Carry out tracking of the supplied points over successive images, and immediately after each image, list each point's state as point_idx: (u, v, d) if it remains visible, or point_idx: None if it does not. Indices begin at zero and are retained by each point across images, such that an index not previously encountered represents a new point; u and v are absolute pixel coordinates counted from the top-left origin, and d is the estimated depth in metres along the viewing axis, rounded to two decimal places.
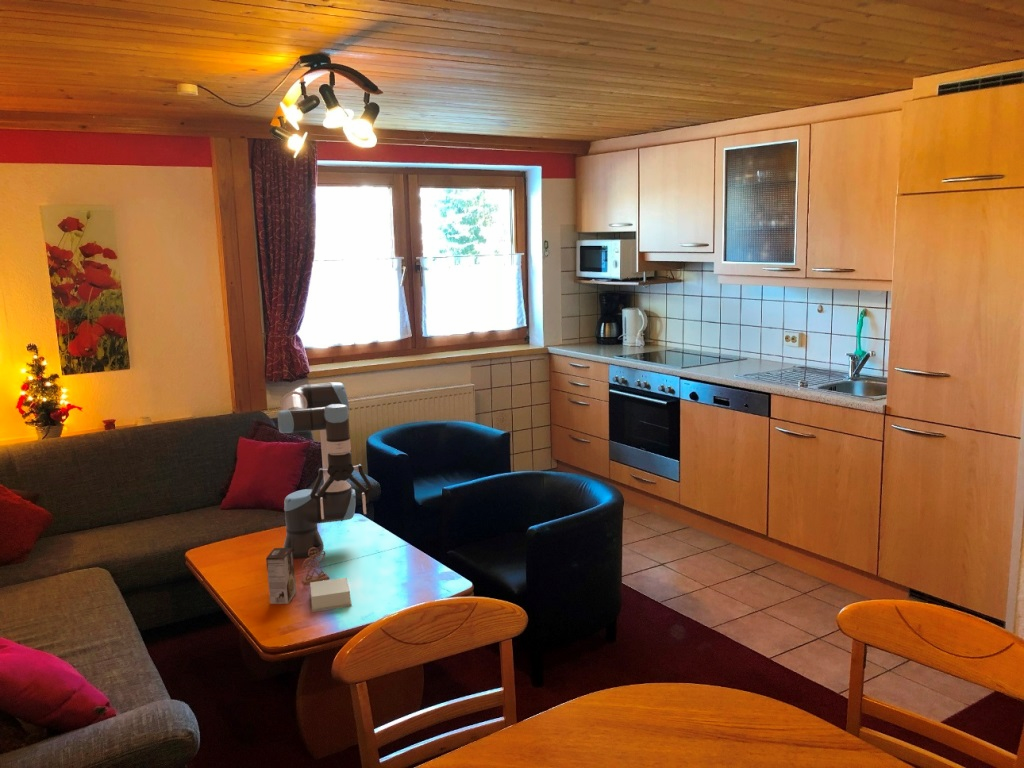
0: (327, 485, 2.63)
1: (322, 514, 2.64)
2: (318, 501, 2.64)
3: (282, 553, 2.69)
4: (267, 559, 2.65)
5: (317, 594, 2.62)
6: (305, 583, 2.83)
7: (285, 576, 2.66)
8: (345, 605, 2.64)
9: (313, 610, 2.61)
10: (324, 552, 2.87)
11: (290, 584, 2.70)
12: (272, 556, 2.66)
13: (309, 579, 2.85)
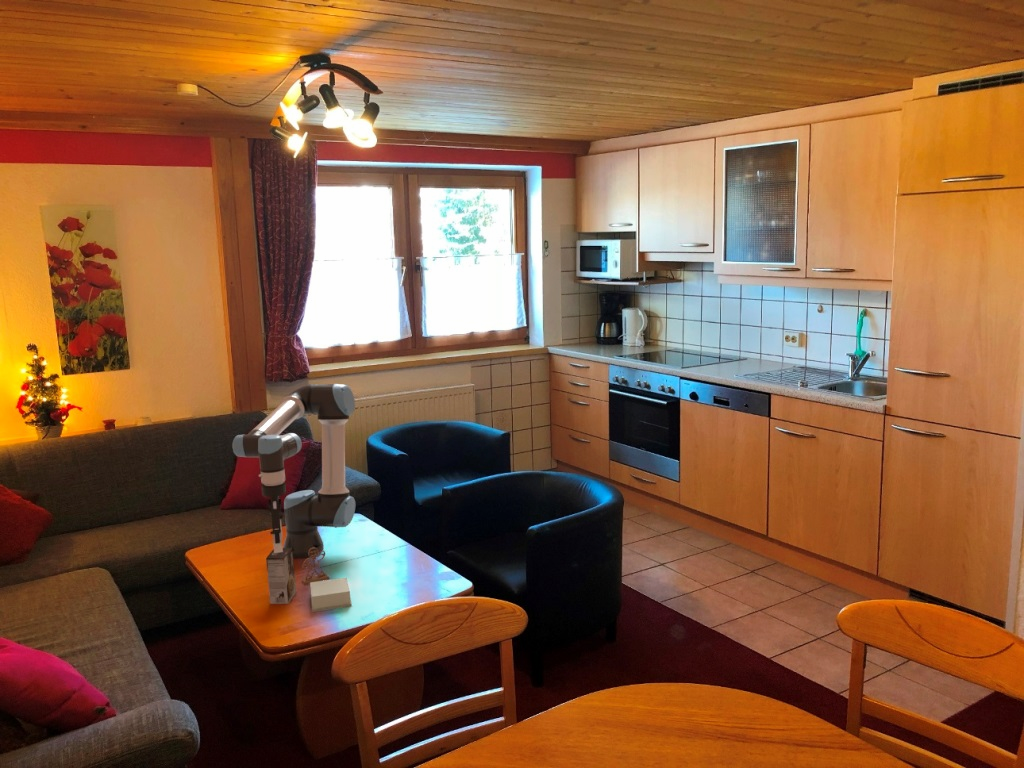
0: None
1: None
2: None
3: (282, 553, 2.69)
4: (267, 559, 2.65)
5: (317, 594, 2.62)
6: (305, 583, 2.83)
7: (285, 576, 2.66)
8: (345, 605, 2.64)
9: (313, 610, 2.61)
10: (324, 552, 2.87)
11: (290, 584, 2.70)
12: (272, 556, 2.66)
13: (309, 579, 2.85)
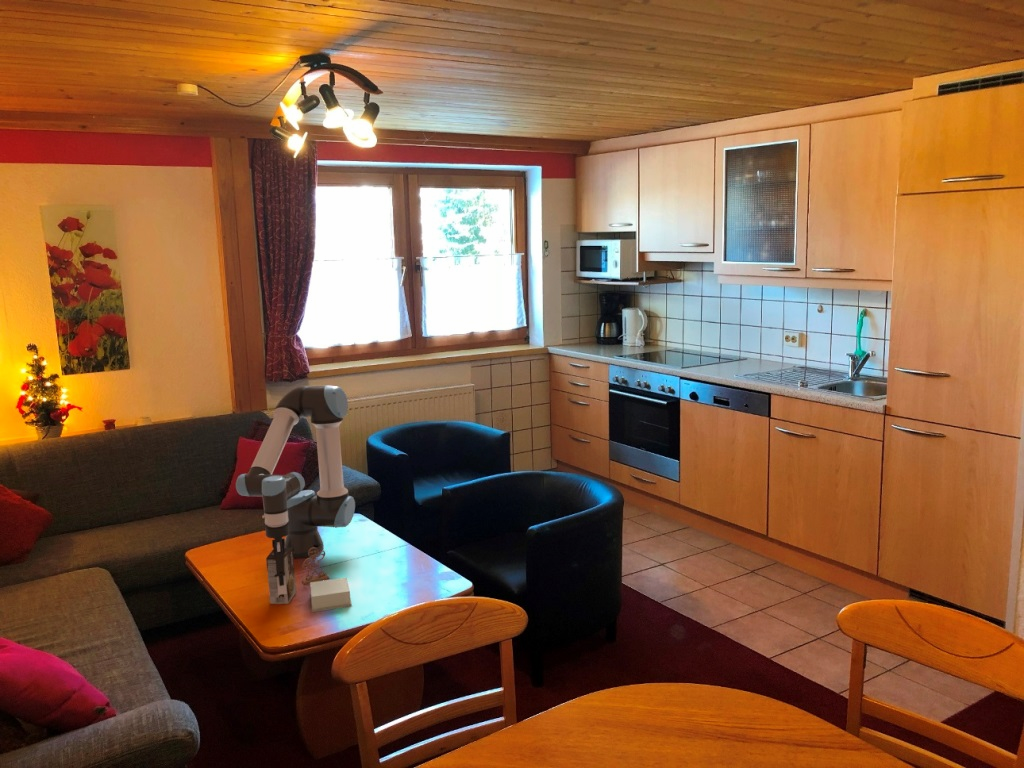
0: None
1: None
2: None
3: None
4: (267, 559, 2.65)
5: (317, 594, 2.62)
6: (305, 583, 2.83)
7: (285, 576, 2.66)
8: (345, 605, 2.64)
9: (313, 610, 2.61)
10: (324, 552, 2.87)
11: (290, 584, 2.70)
12: (272, 556, 2.66)
13: (309, 579, 2.85)
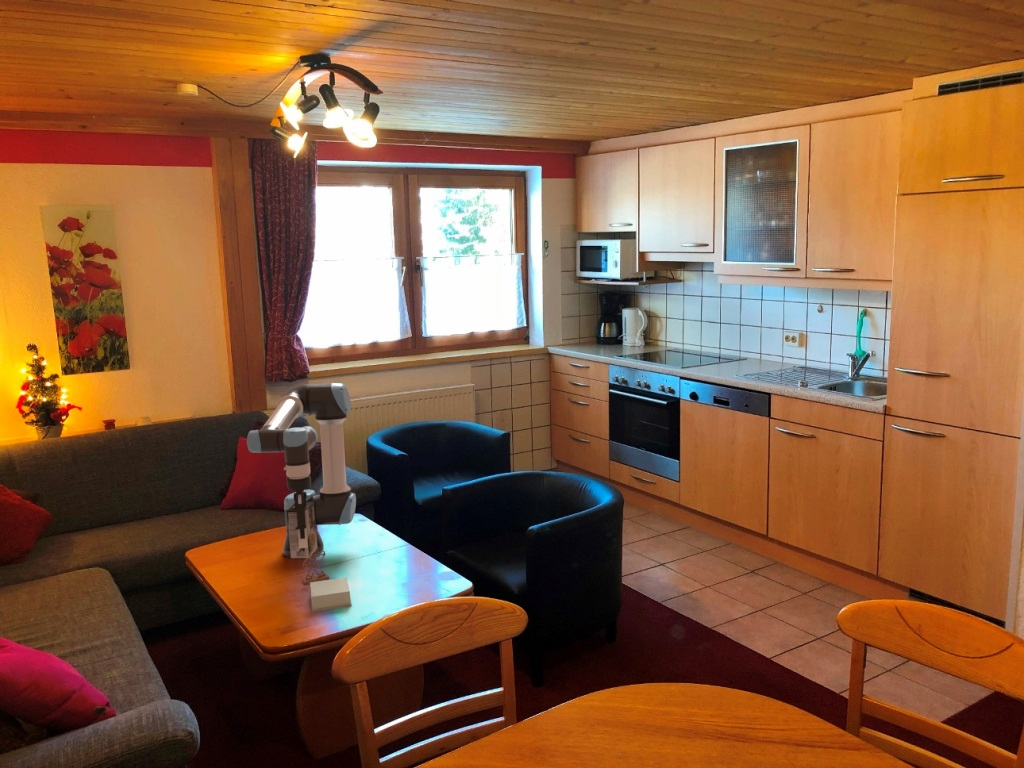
0: None
1: None
2: None
3: None
4: (288, 512, 2.60)
5: (317, 594, 2.62)
6: (305, 583, 2.83)
7: None
8: (345, 605, 2.64)
9: (313, 610, 2.61)
10: (324, 552, 2.87)
11: (311, 538, 2.65)
12: (293, 509, 2.61)
13: (309, 579, 2.85)
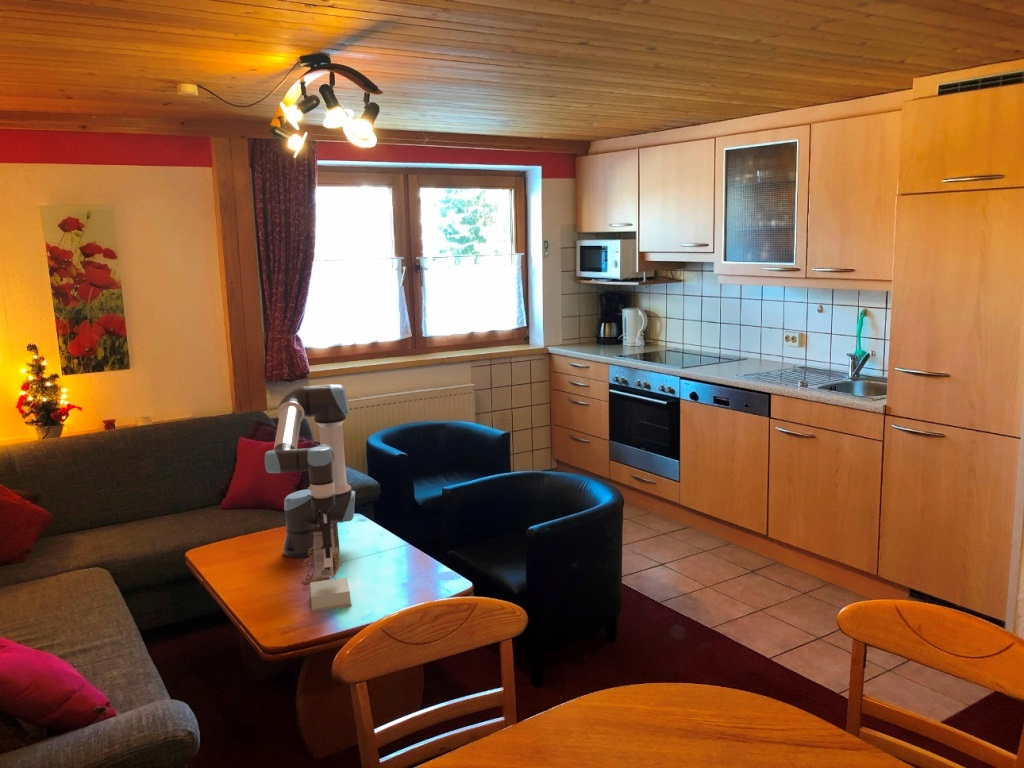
0: None
1: None
2: None
3: None
4: (313, 531, 2.60)
5: (317, 594, 2.62)
6: (305, 583, 2.83)
7: None
8: (345, 605, 2.64)
9: (313, 610, 2.61)
10: None
11: (336, 557, 2.65)
12: (317, 528, 2.61)
13: (309, 579, 2.85)
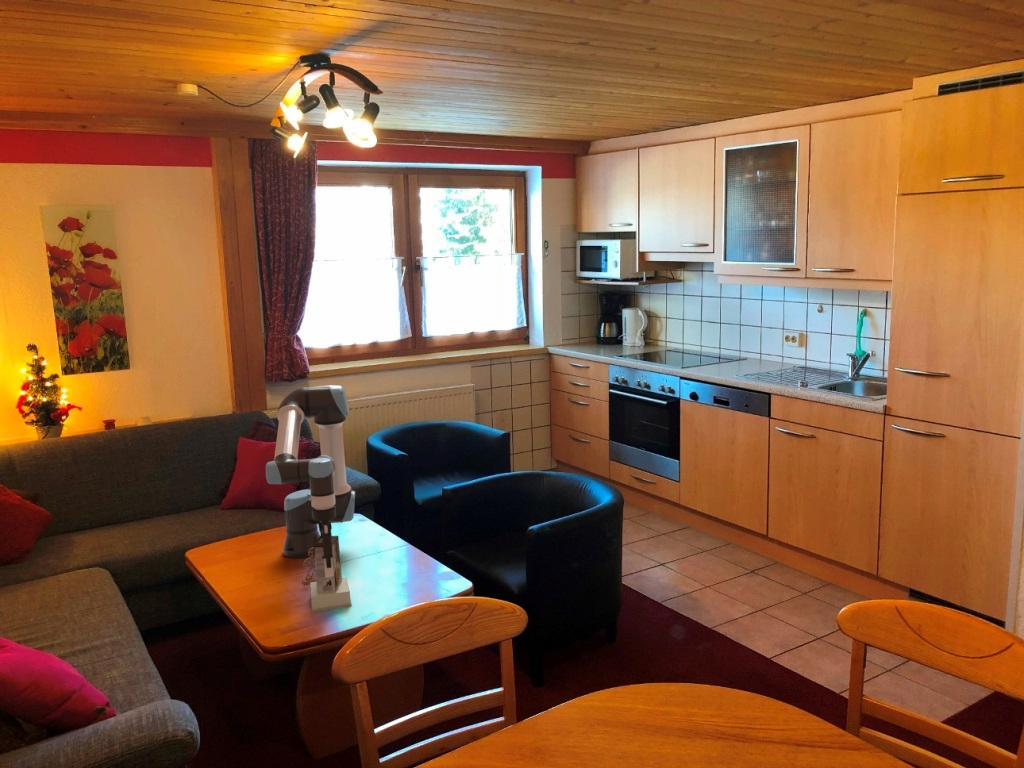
0: None
1: None
2: None
3: None
4: (314, 547, 2.61)
5: (317, 594, 2.62)
6: (305, 583, 2.83)
7: (333, 564, 2.62)
8: (345, 605, 2.64)
9: (313, 610, 2.61)
10: None
11: (337, 572, 2.66)
12: (319, 544, 2.62)
13: (309, 579, 2.85)
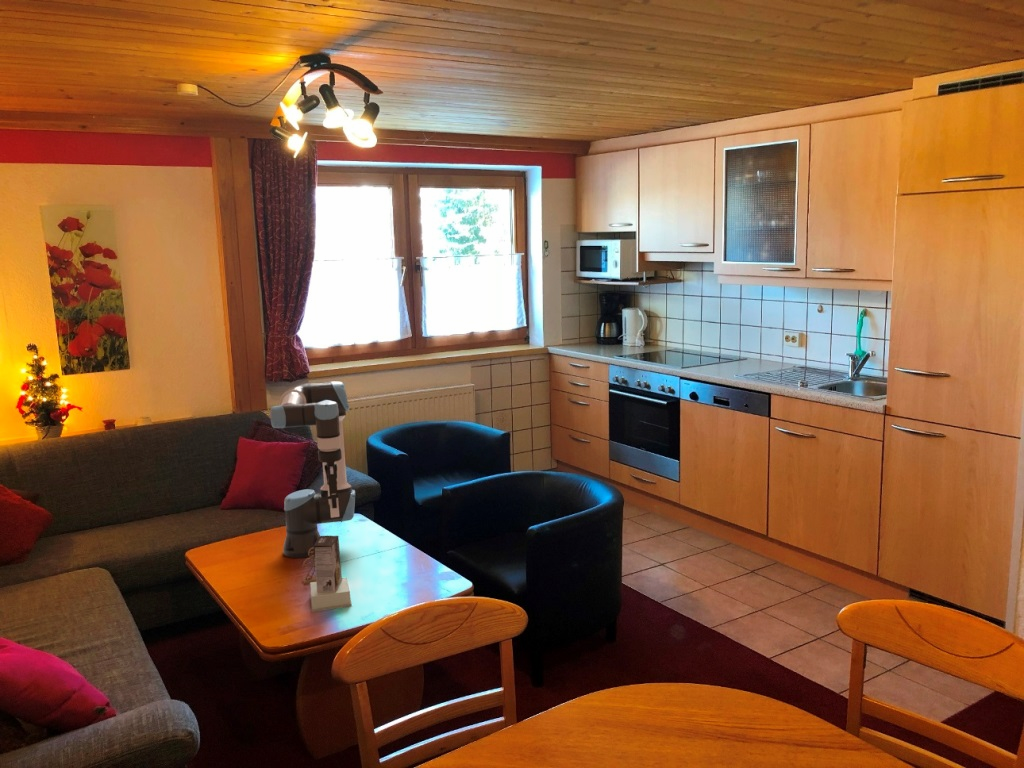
0: None
1: (328, 499, 2.78)
2: (329, 486, 2.78)
3: (329, 541, 2.64)
4: (314, 547, 2.61)
5: (317, 594, 2.62)
6: (305, 583, 2.83)
7: (333, 564, 2.62)
8: (345, 605, 2.64)
9: (313, 610, 2.61)
10: None
11: (337, 572, 2.66)
12: (319, 544, 2.62)
13: (309, 579, 2.85)
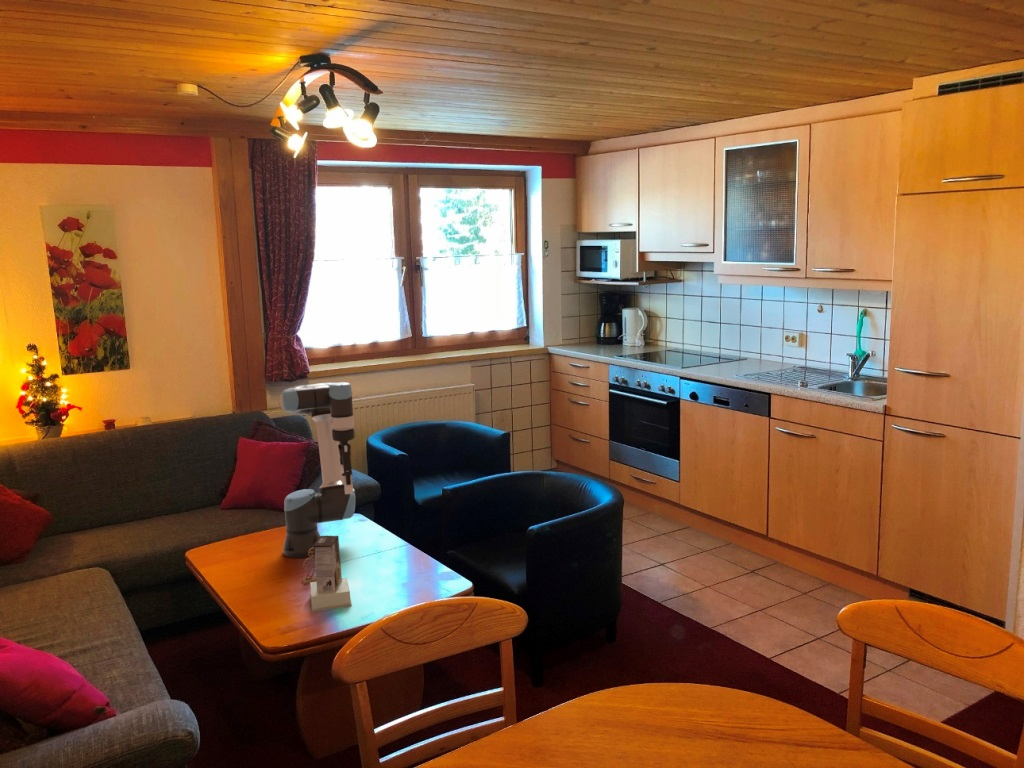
0: None
1: (341, 479, 2.88)
2: None
3: (329, 541, 2.64)
4: (314, 547, 2.61)
5: (317, 594, 2.62)
6: (305, 583, 2.83)
7: (333, 564, 2.62)
8: (345, 605, 2.64)
9: (313, 610, 2.61)
10: None
11: (337, 572, 2.66)
12: (319, 544, 2.62)
13: (309, 579, 2.85)
